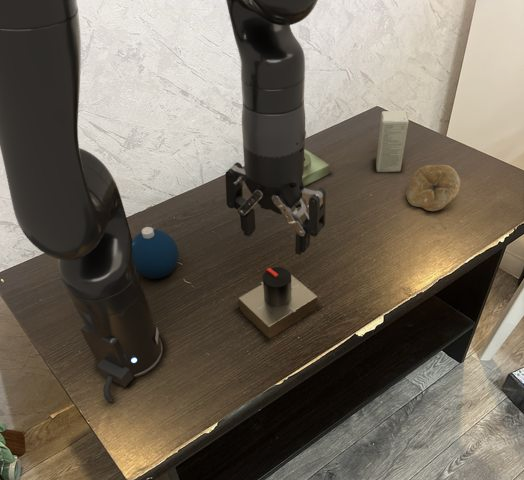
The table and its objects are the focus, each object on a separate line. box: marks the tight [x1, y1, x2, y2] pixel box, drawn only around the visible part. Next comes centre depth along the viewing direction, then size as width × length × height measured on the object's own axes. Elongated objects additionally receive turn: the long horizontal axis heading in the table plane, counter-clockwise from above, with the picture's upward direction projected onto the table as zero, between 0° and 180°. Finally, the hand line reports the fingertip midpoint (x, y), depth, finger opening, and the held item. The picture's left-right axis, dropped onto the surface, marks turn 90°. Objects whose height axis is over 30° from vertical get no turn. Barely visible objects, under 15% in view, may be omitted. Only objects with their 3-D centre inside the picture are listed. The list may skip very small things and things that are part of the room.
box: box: [375, 110, 410, 173], centre depth 103 cm, size 5×4×11 cm
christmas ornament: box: [132, 226, 179, 279], centre depth 86 cm, size 8×8×10 cm
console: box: [238, 274, 318, 340], centre depth 82 cm, size 10×9×3 cm
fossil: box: [405, 164, 462, 212], centre depth 97 cm, size 9×4×10 cm
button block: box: [302, 148, 330, 186], centre depth 105 cm, size 12×8×4 cm, turn 126°
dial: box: [262, 266, 292, 307], centre depth 79 cm, size 4×4×5 cm
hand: (275, 242), depth 73 cm, fingers open, 8 cm apart
